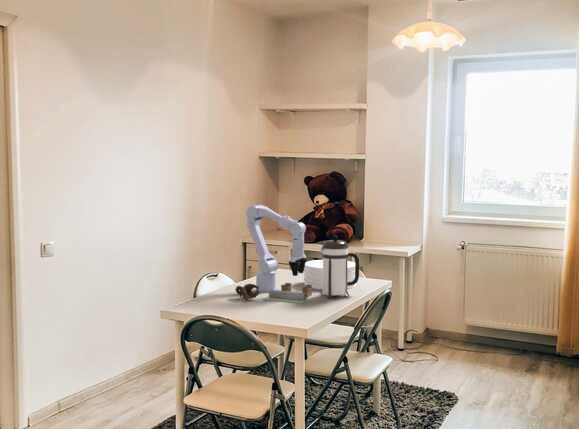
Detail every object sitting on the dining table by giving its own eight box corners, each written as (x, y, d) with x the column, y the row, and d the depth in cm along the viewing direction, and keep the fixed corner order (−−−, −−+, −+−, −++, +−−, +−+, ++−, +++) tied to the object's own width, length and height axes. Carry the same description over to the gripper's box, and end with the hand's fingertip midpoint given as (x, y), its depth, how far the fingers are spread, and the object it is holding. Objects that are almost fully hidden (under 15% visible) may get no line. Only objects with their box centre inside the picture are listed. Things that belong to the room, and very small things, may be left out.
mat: (262, 299, 299) (262, 298, 299) (269, 296, 307) (269, 295, 306) (301, 303, 292) (301, 302, 291) (307, 299, 299) (307, 298, 299)
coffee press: (343, 301, 296) (344, 238, 294) (314, 297, 305) (314, 235, 302) (359, 294, 311) (360, 234, 308) (330, 290, 320) (331, 232, 317)
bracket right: (301, 296, 306) (301, 286, 305) (306, 294, 311) (306, 284, 310) (307, 297, 304) (307, 287, 304) (311, 294, 310) (311, 284, 309)
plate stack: (358, 290, 321) (359, 268, 320) (304, 290, 322) (304, 268, 321) (354, 280, 349) (354, 259, 348) (304, 279, 350) (304, 259, 349)
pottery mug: (260, 297, 306) (262, 284, 301) (254, 310, 298) (256, 297, 294) (237, 290, 307) (238, 277, 303) (230, 302, 300) (232, 289, 295)
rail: (271, 296, 303) (268, 297, 300) (271, 289, 303) (268, 291, 300) (306, 299, 297) (303, 301, 294) (306, 292, 296) (303, 294, 293)
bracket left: (281, 294, 310) (281, 284, 309) (285, 292, 315) (285, 282, 315) (286, 295, 309) (286, 285, 308) (291, 293, 314) (291, 283, 313)
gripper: (300, 249, 301) (300, 277, 302) (310, 245, 315) (310, 272, 316) (286, 248, 304) (286, 276, 305) (297, 245, 317) (297, 271, 319)
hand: (298, 274), depth 311 cm, fingers open, 7 cm apart
